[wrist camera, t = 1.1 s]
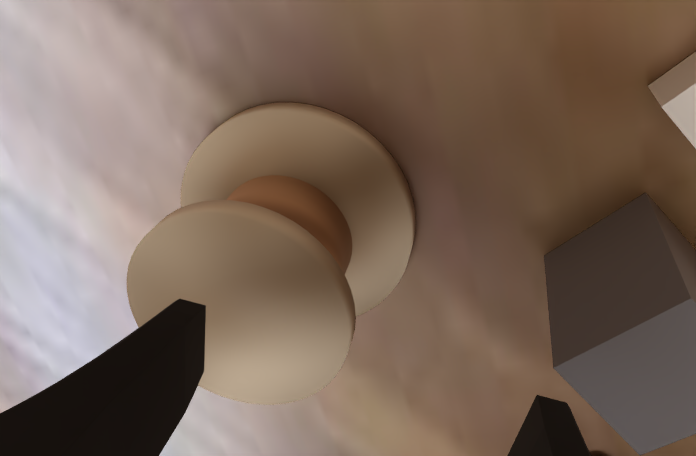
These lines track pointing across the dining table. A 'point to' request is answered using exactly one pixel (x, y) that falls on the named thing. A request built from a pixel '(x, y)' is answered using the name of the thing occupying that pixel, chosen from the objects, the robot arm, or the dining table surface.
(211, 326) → the bobbin
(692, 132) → the notched board
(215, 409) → the dining table surface
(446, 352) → the dining table surface
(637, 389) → the block
